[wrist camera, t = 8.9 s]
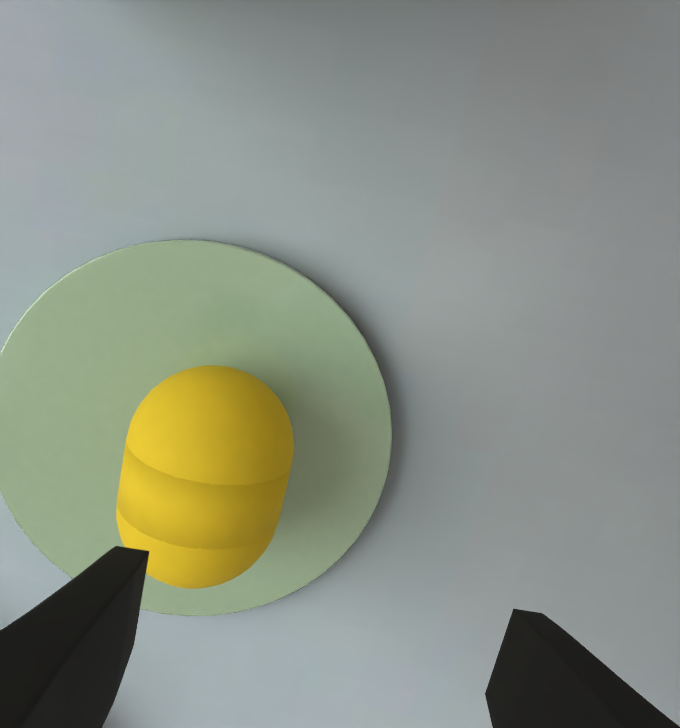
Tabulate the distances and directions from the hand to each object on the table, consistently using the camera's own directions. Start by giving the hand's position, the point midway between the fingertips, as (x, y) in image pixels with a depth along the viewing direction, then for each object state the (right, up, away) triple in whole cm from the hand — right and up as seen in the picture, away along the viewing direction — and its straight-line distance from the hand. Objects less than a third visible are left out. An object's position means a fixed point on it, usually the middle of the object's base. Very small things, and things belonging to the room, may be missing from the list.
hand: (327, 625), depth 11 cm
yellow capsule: (-4, +3, +7) cm, 9 cm away
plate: (-4, +3, +8) cm, 10 cm away
